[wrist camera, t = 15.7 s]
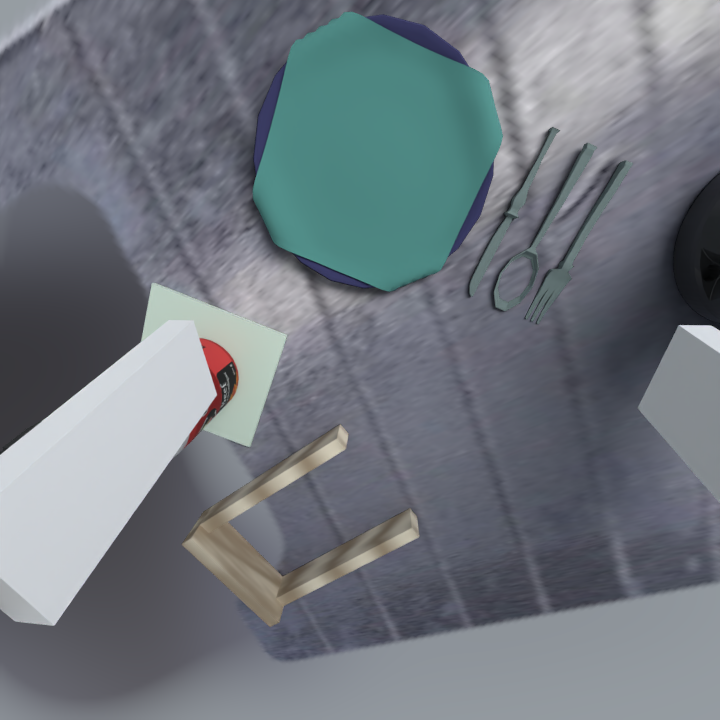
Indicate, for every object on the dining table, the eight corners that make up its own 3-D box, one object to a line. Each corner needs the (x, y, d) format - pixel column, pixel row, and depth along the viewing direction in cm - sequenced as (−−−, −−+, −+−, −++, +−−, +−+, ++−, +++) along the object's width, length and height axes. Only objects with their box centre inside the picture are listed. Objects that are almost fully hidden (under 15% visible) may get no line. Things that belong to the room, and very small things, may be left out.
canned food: (218, 418, 39) (158, 482, 28) (155, 374, 38) (68, 425, 27) (255, 367, 37) (204, 417, 26) (190, 320, 35) (109, 352, 25)
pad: (287, 335, 36) (286, 336, 35) (250, 445, 40) (249, 447, 40) (154, 282, 35) (152, 283, 35) (132, 401, 39) (129, 402, 39)
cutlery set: (302, -20, 27) (295, -42, 25) (642, 145, 29) (663, 138, 27) (235, 237, 33) (225, 237, 31) (517, 354, 36) (526, 362, 34)
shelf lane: (340, 424, 39) (334, 449, 34) (417, 516, 42) (421, 552, 37) (203, 511, 44) (181, 544, 39) (281, 588, 47) (269, 627, 42)
